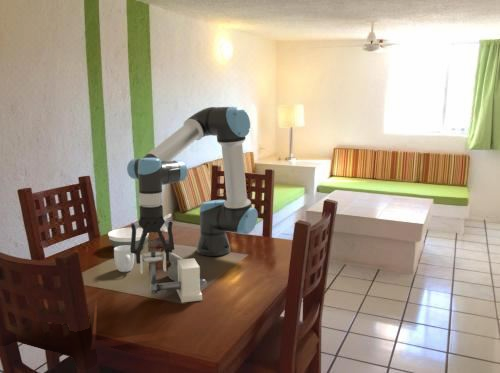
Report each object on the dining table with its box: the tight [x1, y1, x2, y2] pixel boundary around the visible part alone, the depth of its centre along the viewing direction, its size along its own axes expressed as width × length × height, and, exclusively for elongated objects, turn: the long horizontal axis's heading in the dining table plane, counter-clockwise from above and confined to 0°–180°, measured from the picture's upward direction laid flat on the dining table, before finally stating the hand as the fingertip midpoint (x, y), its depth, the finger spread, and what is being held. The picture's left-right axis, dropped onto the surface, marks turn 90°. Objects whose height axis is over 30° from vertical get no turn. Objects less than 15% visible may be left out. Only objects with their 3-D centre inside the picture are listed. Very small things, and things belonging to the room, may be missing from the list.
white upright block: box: [176, 257, 203, 304], centre depth 159 cm, size 7×12×11 cm, turn 18°
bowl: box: [107, 226, 150, 249], centre depth 211 cm, size 19×19×8 cm
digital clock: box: [167, 252, 184, 282], centre depth 175 cm, size 14×8×9 cm, turn 24°
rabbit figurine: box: [160, 213, 172, 233], centre depth 242 cm, size 12×8×10 cm, turn 23°
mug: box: [113, 245, 135, 273], centre depth 182 cm, size 11×8×9 cm
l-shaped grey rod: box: [142, 250, 208, 295], centre depth 157 cm, size 22×7×16 cm, turn 108°
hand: (153, 271), depth 155 cm, fingers closed on l-shaped grey rod, 7 cm apart
